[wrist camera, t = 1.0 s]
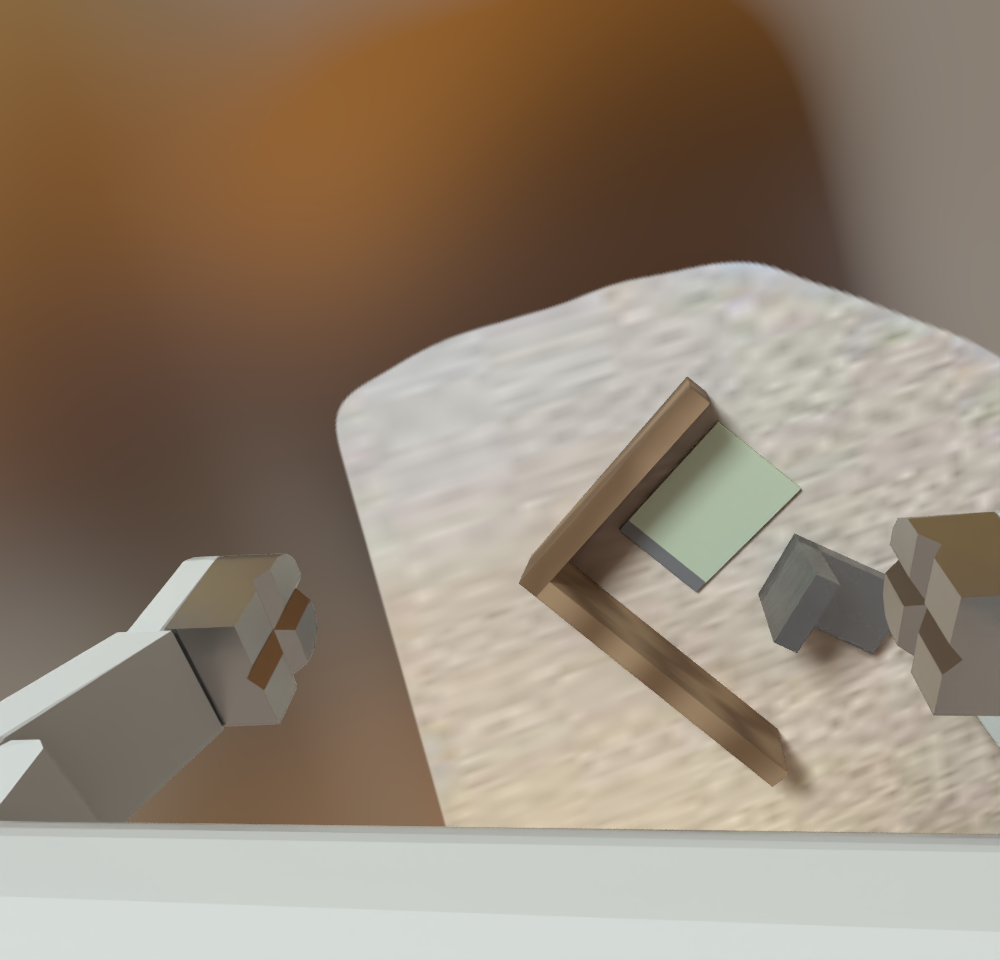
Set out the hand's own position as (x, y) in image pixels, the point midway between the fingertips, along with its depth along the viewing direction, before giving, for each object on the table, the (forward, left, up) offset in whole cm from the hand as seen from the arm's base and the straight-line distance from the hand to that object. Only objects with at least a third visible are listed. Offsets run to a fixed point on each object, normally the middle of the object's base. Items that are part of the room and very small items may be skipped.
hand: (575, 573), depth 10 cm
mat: (-11, +6, -39) cm, 41 cm away
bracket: (-21, +5, -39) cm, 44 cm away
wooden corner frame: (-15, +8, -39) cm, 42 cm away
